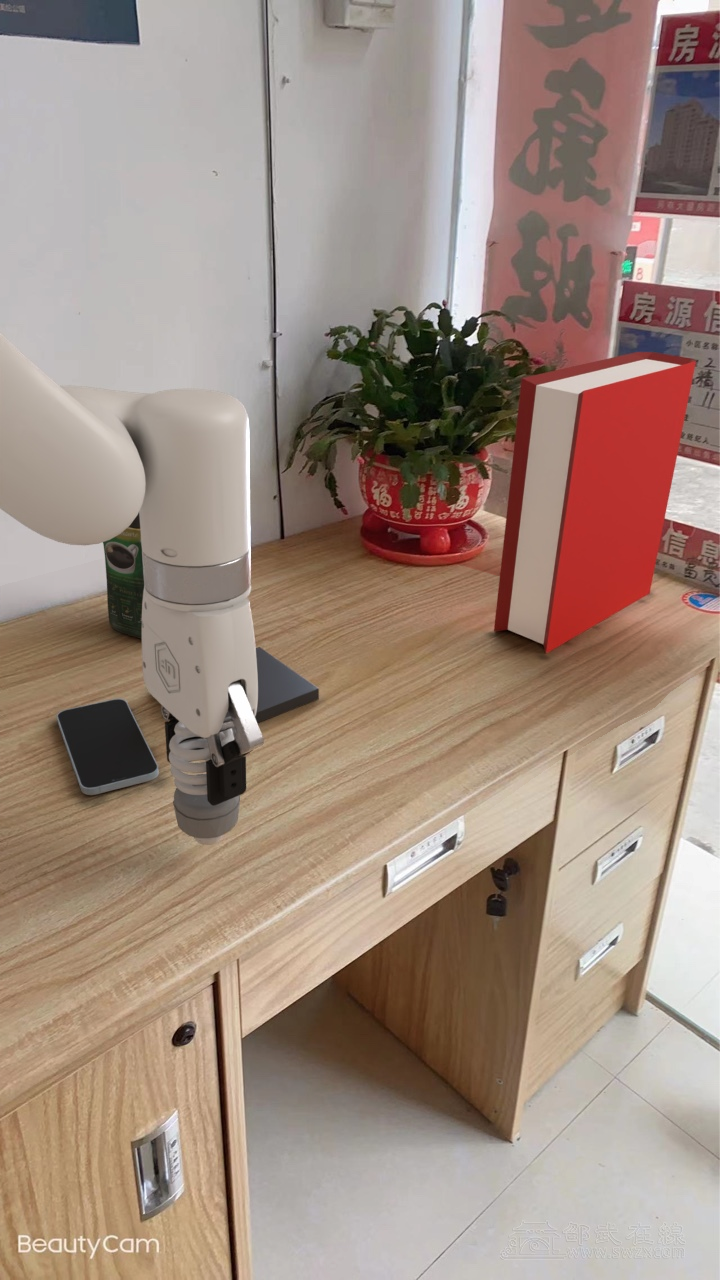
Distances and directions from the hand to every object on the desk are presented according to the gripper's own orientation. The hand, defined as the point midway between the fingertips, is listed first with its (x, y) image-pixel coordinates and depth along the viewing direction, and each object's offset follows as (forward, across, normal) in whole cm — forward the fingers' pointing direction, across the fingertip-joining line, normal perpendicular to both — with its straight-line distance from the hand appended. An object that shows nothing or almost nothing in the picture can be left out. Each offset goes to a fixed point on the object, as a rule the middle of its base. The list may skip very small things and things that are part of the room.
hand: (205, 775), depth 71 cm
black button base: (+9, -21, +16) cm, 28 cm away
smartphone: (+9, -20, 0) cm, 22 cm away
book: (+8, -12, +65) cm, 66 cm away
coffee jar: (+9, -42, +16) cm, 46 cm away
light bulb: (+7, 0, 0) cm, 7 cm away
